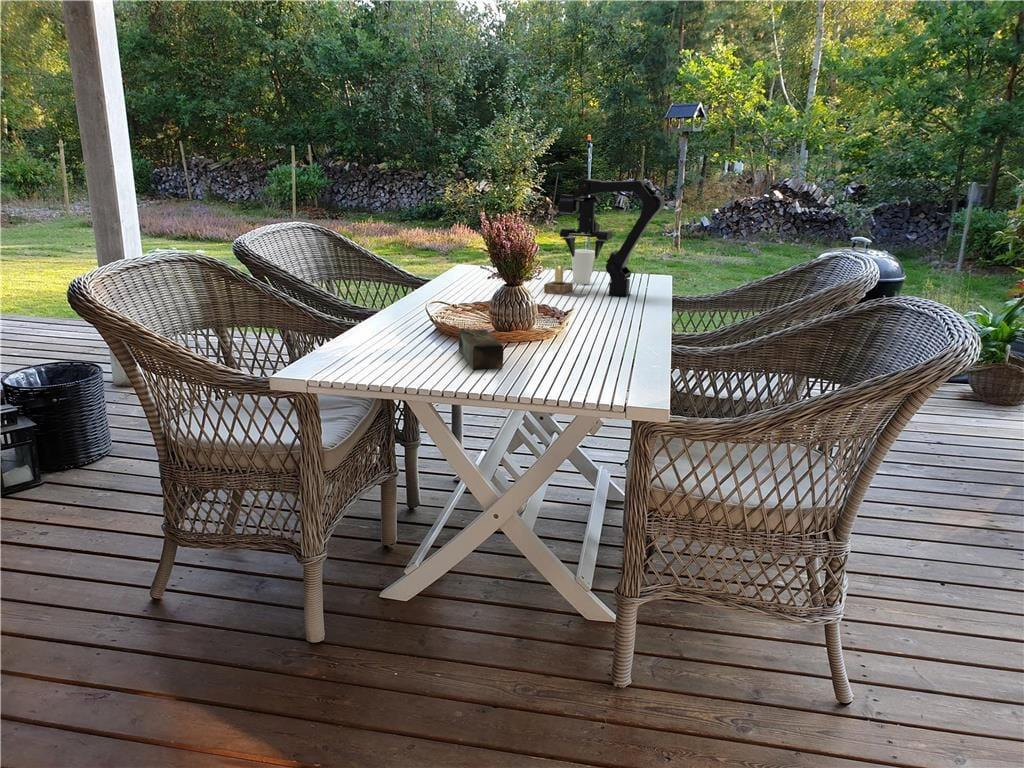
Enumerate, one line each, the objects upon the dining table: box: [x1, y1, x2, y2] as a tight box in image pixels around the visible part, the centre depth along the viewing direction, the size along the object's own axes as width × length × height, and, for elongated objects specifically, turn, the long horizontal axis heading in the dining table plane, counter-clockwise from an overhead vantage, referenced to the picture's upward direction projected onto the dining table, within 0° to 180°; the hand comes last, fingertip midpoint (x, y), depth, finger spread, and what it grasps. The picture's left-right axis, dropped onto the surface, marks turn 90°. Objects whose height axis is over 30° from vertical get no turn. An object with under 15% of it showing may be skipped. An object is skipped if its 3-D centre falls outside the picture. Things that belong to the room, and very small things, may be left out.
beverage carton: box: [458, 327, 504, 371], centre depth 191 cm, size 8×19×7 cm, turn 15°
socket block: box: [543, 280, 574, 296], centre depth 279 cm, size 8×8×4 cm
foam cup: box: [570, 248, 595, 285], centre depth 297 cm, size 10×9×13 cm
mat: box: [563, 292, 590, 299], centre depth 275 cm, size 7×7×1 cm
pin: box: [554, 265, 564, 285], centre depth 278 cm, size 3×3×10 cm
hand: (584, 257), depth 277 cm, fingers open, 9 cm apart
